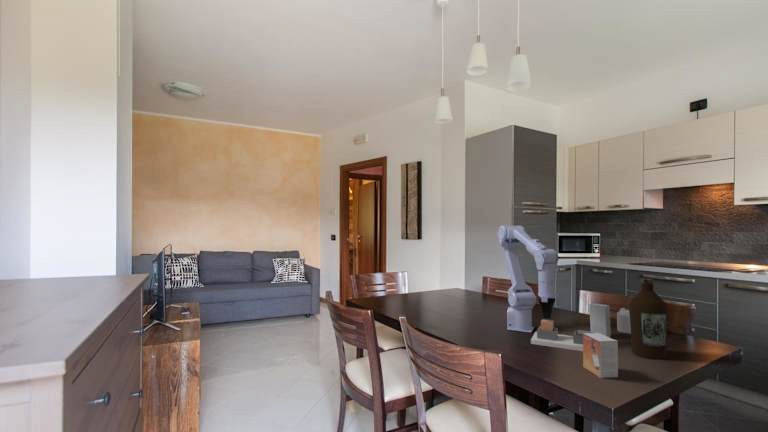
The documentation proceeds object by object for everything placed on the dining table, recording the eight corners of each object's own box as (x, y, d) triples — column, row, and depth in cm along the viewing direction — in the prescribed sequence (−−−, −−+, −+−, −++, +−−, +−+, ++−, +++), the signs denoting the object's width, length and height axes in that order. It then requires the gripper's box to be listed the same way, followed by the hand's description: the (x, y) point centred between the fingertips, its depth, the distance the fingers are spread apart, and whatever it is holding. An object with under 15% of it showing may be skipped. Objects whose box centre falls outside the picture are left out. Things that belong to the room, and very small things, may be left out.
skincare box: (611, 336, 145) (610, 305, 145) (606, 338, 142) (606, 306, 142) (594, 333, 150) (593, 302, 150) (589, 335, 147) (588, 304, 147)
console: (530, 343, 137) (530, 331, 137) (535, 335, 147) (535, 323, 147) (600, 353, 126) (600, 340, 126) (600, 343, 136) (600, 331, 136)
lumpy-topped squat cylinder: (614, 330, 153) (613, 309, 153) (625, 325, 161) (625, 304, 161) (644, 336, 145) (643, 314, 145) (654, 330, 153) (653, 309, 153)
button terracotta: (540, 331, 139) (540, 321, 139) (542, 328, 142) (542, 319, 142) (552, 332, 137) (552, 323, 137) (553, 329, 140) (553, 320, 140)
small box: (582, 367, 114) (582, 332, 114) (600, 366, 114) (599, 332, 115) (600, 378, 106) (599, 341, 106) (618, 377, 106) (618, 340, 107)
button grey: (577, 342, 133) (577, 332, 133) (578, 339, 136) (577, 329, 136) (590, 344, 131) (590, 334, 131) (590, 341, 134) (590, 331, 134)
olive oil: (624, 348, 131) (623, 276, 132) (659, 350, 129) (657, 277, 129) (637, 358, 121) (636, 281, 121) (675, 361, 119) (673, 282, 119)
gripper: (556, 285, 132) (557, 324, 131) (560, 279, 144) (560, 315, 144) (534, 283, 135) (535, 321, 135) (540, 278, 148) (541, 313, 147)
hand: (547, 318), depth 140 cm, fingers closed
